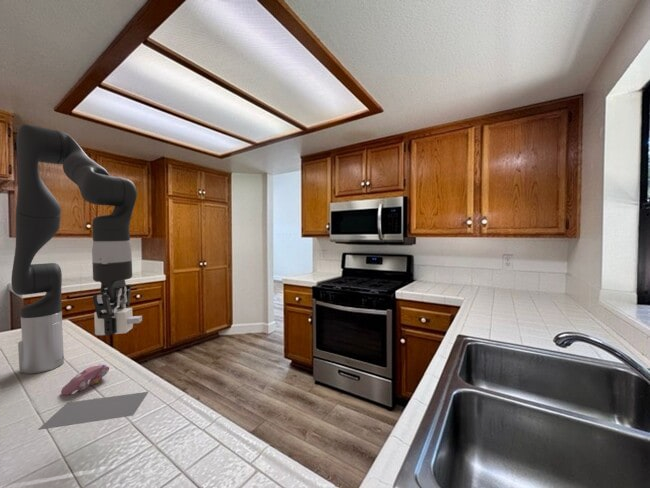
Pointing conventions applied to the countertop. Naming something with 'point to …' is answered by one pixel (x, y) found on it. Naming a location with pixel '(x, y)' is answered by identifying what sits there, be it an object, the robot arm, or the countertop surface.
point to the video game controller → (85, 379)
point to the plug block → (118, 321)
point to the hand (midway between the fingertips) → (115, 330)
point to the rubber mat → (95, 410)
